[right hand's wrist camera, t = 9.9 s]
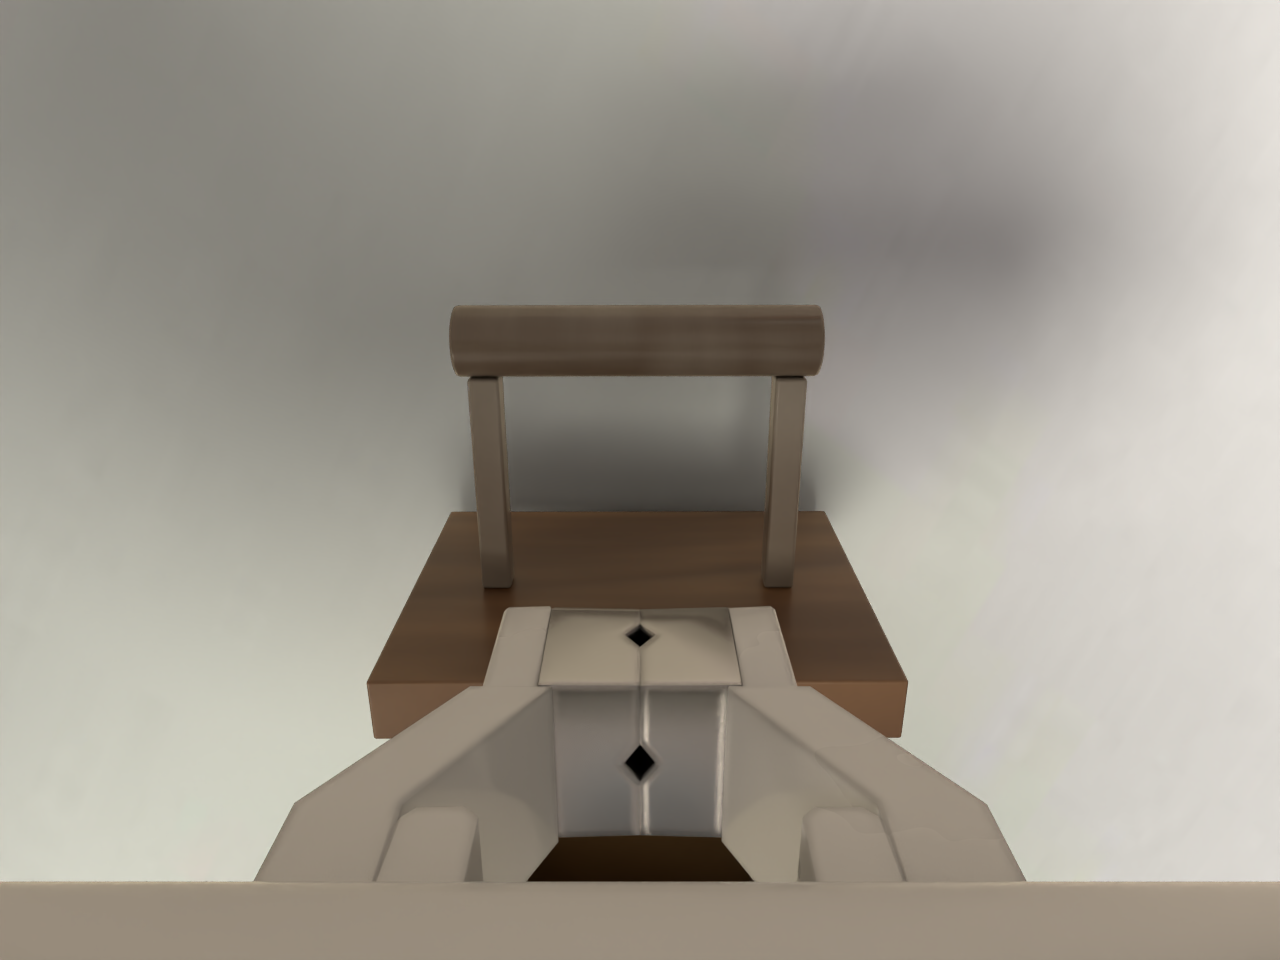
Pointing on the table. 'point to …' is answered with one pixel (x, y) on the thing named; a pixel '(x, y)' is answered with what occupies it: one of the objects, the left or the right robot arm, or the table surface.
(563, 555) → the drawer
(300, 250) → the table surface
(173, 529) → the table surface
